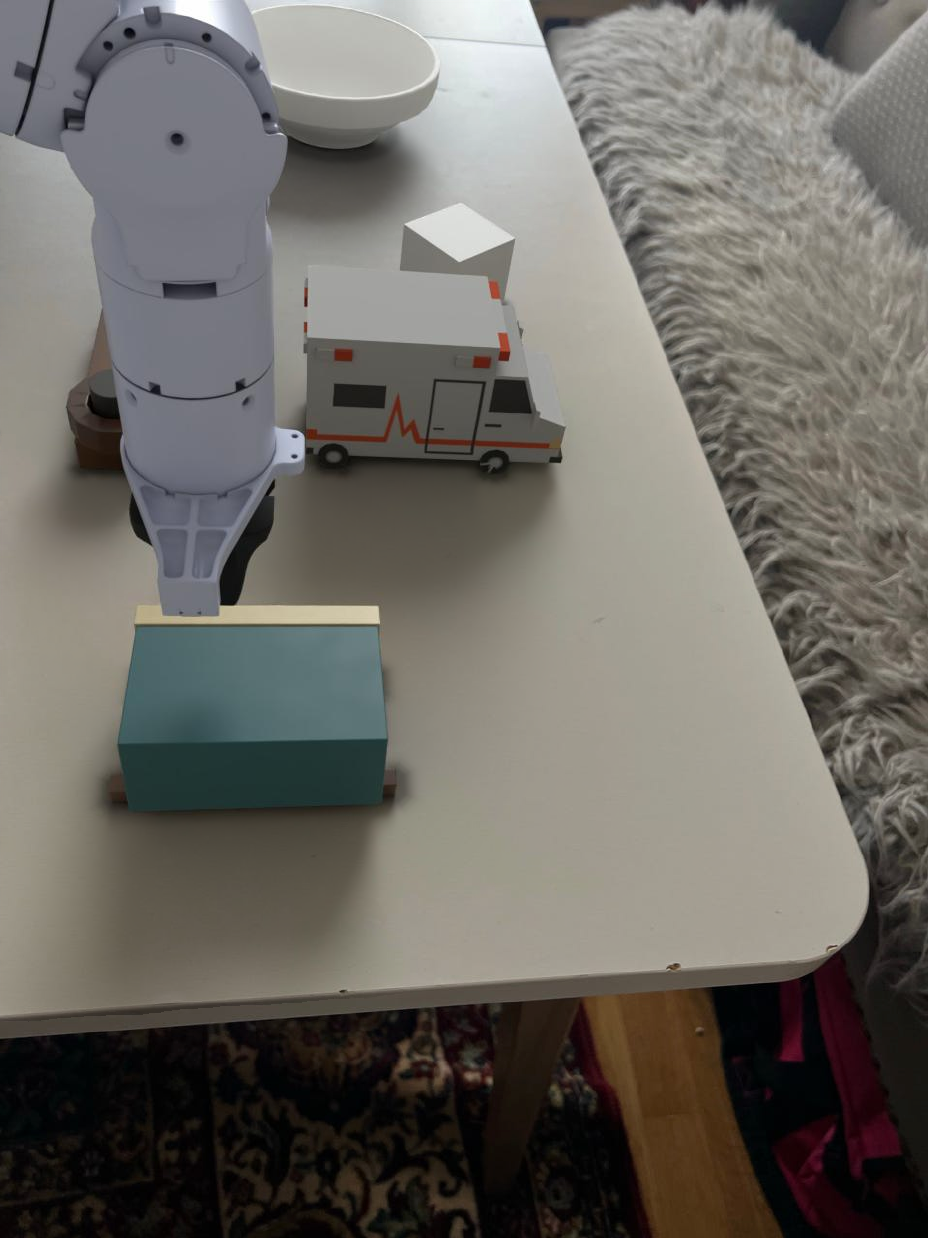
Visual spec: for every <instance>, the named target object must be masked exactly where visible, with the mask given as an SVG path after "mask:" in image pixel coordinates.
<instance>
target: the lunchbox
mask: <svg viewBox="0 0 928 1238" xmlns="http://www.w3.org/2000/svg"><path fill="white" fill-rule="evenodd" d="M380 617H381V616H380V607H379V605H248V604H247V605H244V604H243V605H237V604H236V605H234V606H220V612H219V616H201V617H181V616H164V615H163V614H162V608H161V604H136V609H135V615H134V620H133V621H134V622H133V626H134V627H133V628H134V639H133V644H132V651H131V656H130V663H129V669H128V675H127V681H126V688H125V694H124V700H123V707H122V714H121V719H120V724H119V731H118V737H117V743H116V746H117V750H118V756H119V762H120V767H121V774H123V779H124V784H125V790H126V795H127V801H126V802H127V805H128V810H129V812H150V811H151V812H153V811H154V812H158V811H159V812H160V811H191V810H192V811H193V810H195V811H196V810H222V809H224V810H225V809H227V810H228V809H256V808H257V809H258V808H259V809H260V808H261V809H263V808H289V807H294V808H295V807H325V806H326V807H327V806H329V807H330V806H358V805H359V806H362V805H381V804H382V803H383V795H382V794H383V784H384V774H385V769H386V765H387V764H386V763H387V752H388V744H389V735H388V734H389V733H388V723H387V712H386V699H385V689H384V688H385V687H384V676H383V675H384V674H383V666H382V665H383V664H382V654H381V653H382V652H381V643H380V642H381V641H380V633H381V618H380Z"/></svg>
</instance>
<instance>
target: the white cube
mask: <svg viewBox="0 0 928 1238" xmlns="http://www.w3.org/2000/svg"><path fill="white" fill-rule="evenodd" d="M401 240H402V242H401V253H400V263H399V271H412V272H427V273H442V274H457V275H473V276H487V277H488V281H495V282H497V283H498V289H499V294H500V299H501V304H502V305H504V303H505V298H506V292H507V286H508V280H509V276H510V270H511V265H512V259H513V255H514V248H515V244H516V243H515V242H516V237H514V236H513V235H511V234H509V233H508V232H507V231H505V230H503V228H501V227H499V226H497V225H496V224H494V223H493V222H491V221H490V220H489V219H487V218H486V217H484V216H482V215H481V214H480V213H477V212H476V211H475V210H473V209H472V208H470V207H468V206H467V205H466V204H464V203H462V202H458V203H455V204H453V205H450V206H447V207H445V208H443V209H440V210H437V211H435V212H431V213H429V214H426V215H424V216H422V217H418V218H416V219H413V220H410V221H408V222H405V223H403V230H402V239H401Z"/></svg>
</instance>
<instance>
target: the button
mask: <svg viewBox="0 0 928 1238" xmlns="http://www.w3.org/2000/svg"><path fill="white" fill-rule="evenodd" d="M89 389H90V395H91V400H92V405H93V409H94V411H95V412H96V414H97V415H99V416H100V417H102V418H105V419H120V413H119V407H118V401H117V395H116V389H115V383H114V375H113V369H106V370H102V371H99V372H97V373H96V374H94V375H93V376H92V377H91V379H90V381H89Z"/></svg>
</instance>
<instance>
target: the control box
mask: <svg viewBox="0 0 928 1238" xmlns="http://www.w3.org/2000/svg"><path fill="white" fill-rule="evenodd" d="M100 310H101V311H100V315H99V320H98V325H97V329H96V334H95V340H94V344H93V349H92V355H91V359H90V365H89V369H88V374H87V377H86V378H84V379H82V380H81V381H80V382H79V383H78V384H77V385H75V386H74V387H73V388H72V389H70V390H69V392H68V396H67V399H66V400H67V401H66V405H65V408H66V409H65V411H66V413H67V419H68V423H69V428H70V431H71V432H72V434H73V436H74V441H73V442H74V446H75V451H76V455H77V459H78V460H77V461H78V464H79V468H81V469H110V470H111V469H112V470H117V469H118V470H124V468H123V464H122V458H121V452H120V442H121V438H122V434H123V431H122V425H121V419H105V418H102V417H100V416H99V415H97V414H96V412H95V411H94V409H93V405H92V400H91V395H90V389H89V381H90V379H91V377H92V376H93V375H94V374H96V373H97V372H99V371H102V370H106V369H112V363H111V357H110V351H109V345H108V339H107V333H106V327H105V321H104V315H103V308H102V307H101V309H100Z"/></svg>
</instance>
